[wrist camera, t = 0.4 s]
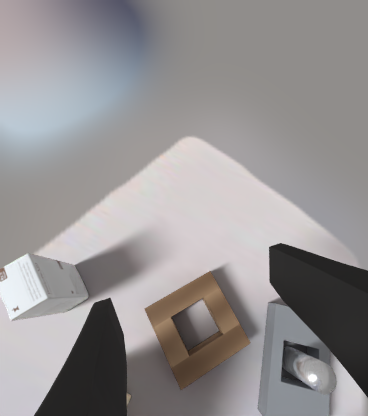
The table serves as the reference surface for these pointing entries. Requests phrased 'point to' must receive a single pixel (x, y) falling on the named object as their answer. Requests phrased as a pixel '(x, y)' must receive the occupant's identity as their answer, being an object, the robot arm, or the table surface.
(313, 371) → the metal axle
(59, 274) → the skincare box
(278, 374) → the bored beam
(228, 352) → the walnut seat block
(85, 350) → the robot arm
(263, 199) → the table surface
